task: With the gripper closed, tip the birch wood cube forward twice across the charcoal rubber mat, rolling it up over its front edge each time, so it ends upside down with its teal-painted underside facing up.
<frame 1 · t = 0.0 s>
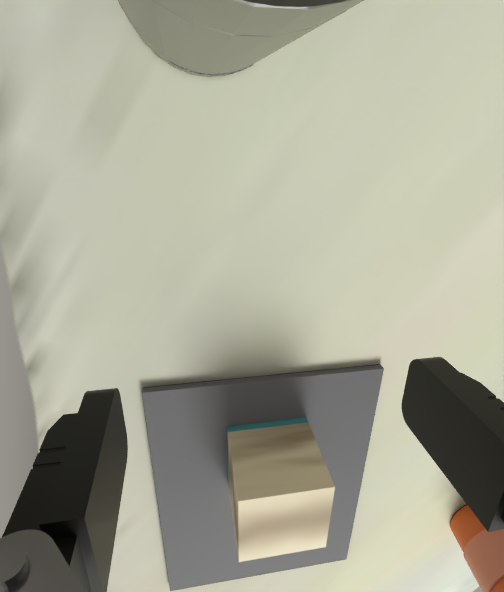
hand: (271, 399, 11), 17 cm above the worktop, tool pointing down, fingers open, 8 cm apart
rubber mat: (263, 487, 38), on the worktop
birch cube: (266, 451, 35), point 1 cm above the worktop, touching rubber mat
cup with straw: (472, 514, 47), on the worktop
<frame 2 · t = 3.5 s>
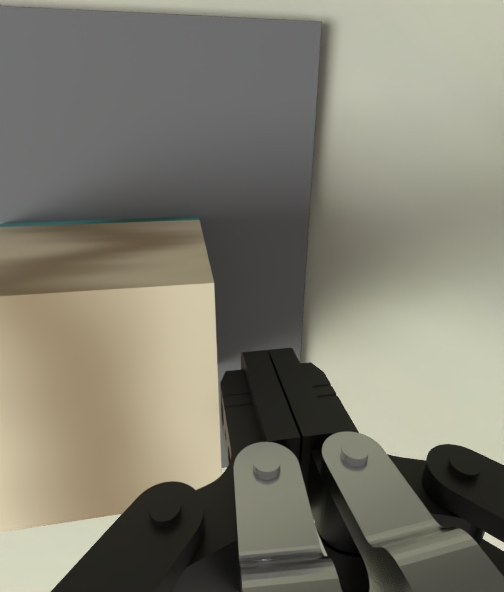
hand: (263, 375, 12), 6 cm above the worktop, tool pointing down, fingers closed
birch cube: (117, 303, 16), point 1 cm above the worktop, touching gripper, rubber mat
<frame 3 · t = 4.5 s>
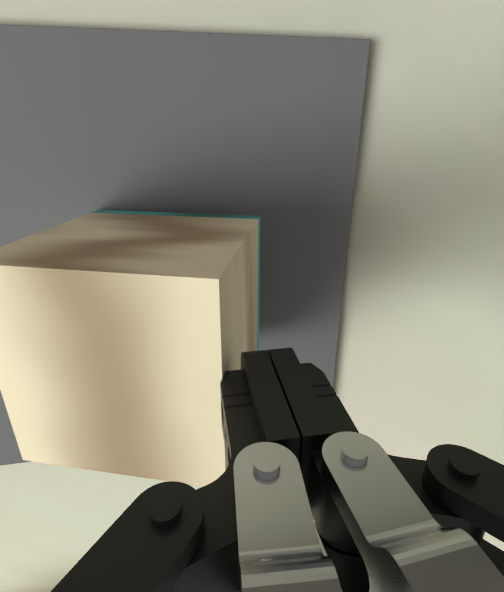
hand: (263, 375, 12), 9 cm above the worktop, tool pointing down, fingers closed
rubber mat: (67, 283, 18), on the worktop
birch cube: (182, 290, 17), point 2 cm above the worktop, tilted 19°, touching gripper, rubber mat
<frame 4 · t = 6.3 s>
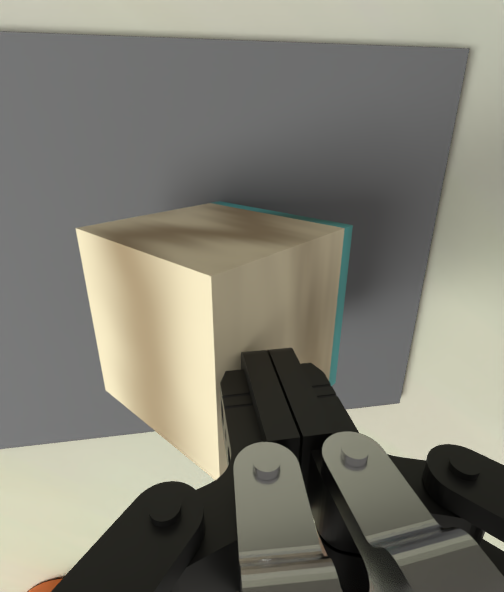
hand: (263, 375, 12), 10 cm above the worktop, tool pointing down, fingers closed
rubber mat: (182, 268, 20), on the worktop
birch cube: (275, 288, 18), point 3 cm above the worktop, tilted 51°, touching gripper, rubber mat
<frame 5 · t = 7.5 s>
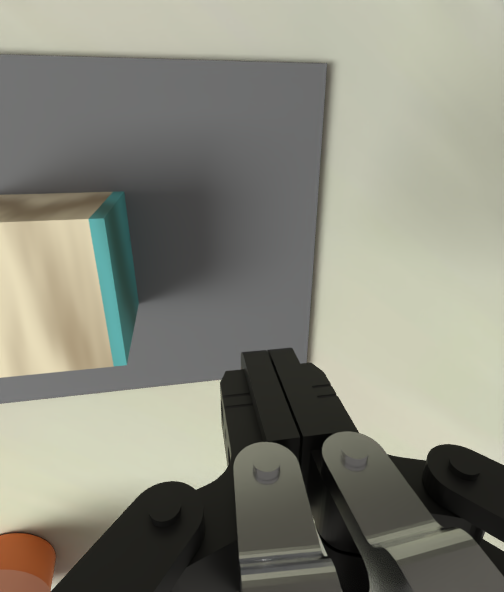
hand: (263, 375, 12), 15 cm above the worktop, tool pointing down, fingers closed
rubber mat: (98, 249, 23), on the worktop
birch cube: (125, 270, 20), point 4 cm above the worktop, tilted 90°, touching rubber mat
cup with straw: (17, 554, 32), on the worktop
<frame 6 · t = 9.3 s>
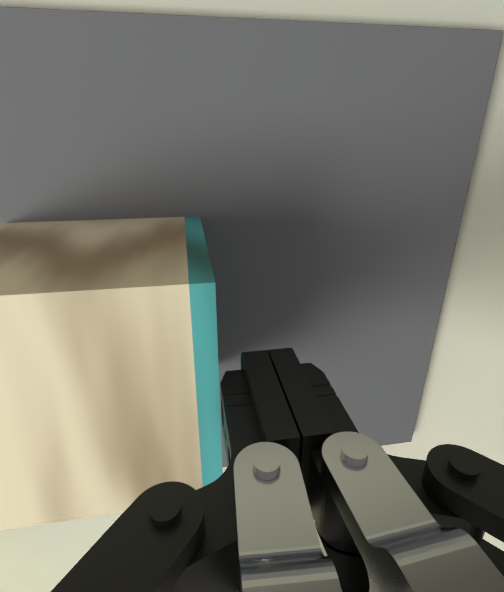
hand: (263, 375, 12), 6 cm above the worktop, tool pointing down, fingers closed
rubber mat: (156, 295, 17), on the worktop
birch cube: (210, 338, 13), point 4 cm above the worktop, tilted 90°, touching gripper, rubber mat
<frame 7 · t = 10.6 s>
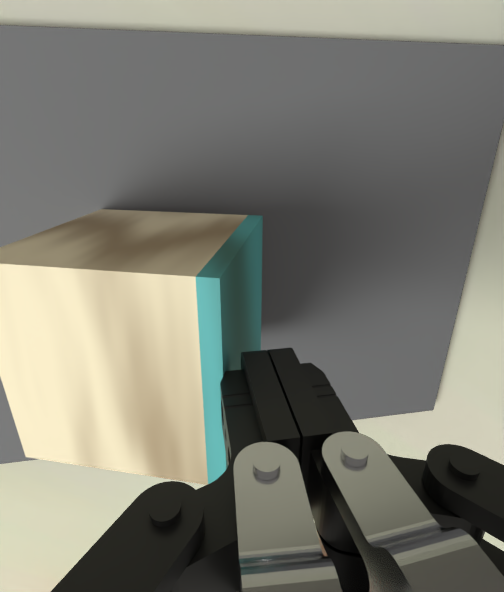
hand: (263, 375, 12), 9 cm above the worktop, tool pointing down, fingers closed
rubber mat: (218, 273, 19), on the worktop
birch cube: (246, 334, 14), point 6 cm above the worktop, tilted 110°, touching gripper, rubber mat
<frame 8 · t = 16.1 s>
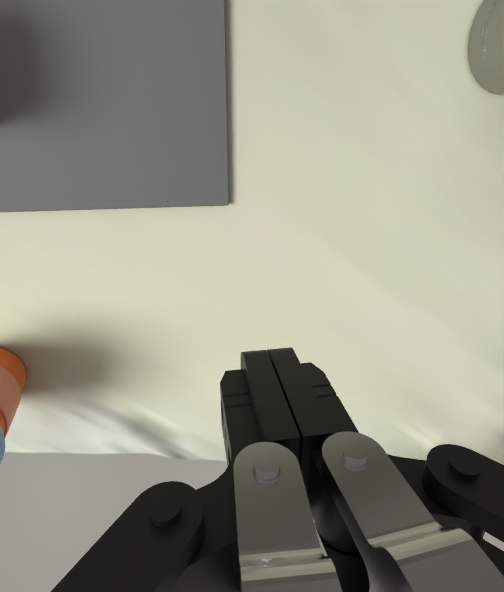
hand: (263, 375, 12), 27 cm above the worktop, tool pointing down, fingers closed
rubber mat: (51, 78, 30), on the worktop
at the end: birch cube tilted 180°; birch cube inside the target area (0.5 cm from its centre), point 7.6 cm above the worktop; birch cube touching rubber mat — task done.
